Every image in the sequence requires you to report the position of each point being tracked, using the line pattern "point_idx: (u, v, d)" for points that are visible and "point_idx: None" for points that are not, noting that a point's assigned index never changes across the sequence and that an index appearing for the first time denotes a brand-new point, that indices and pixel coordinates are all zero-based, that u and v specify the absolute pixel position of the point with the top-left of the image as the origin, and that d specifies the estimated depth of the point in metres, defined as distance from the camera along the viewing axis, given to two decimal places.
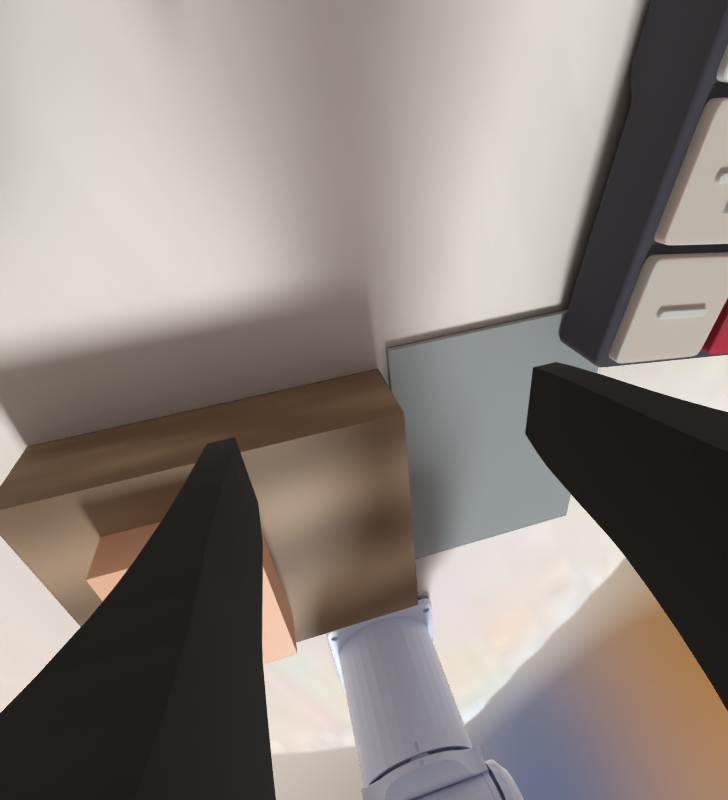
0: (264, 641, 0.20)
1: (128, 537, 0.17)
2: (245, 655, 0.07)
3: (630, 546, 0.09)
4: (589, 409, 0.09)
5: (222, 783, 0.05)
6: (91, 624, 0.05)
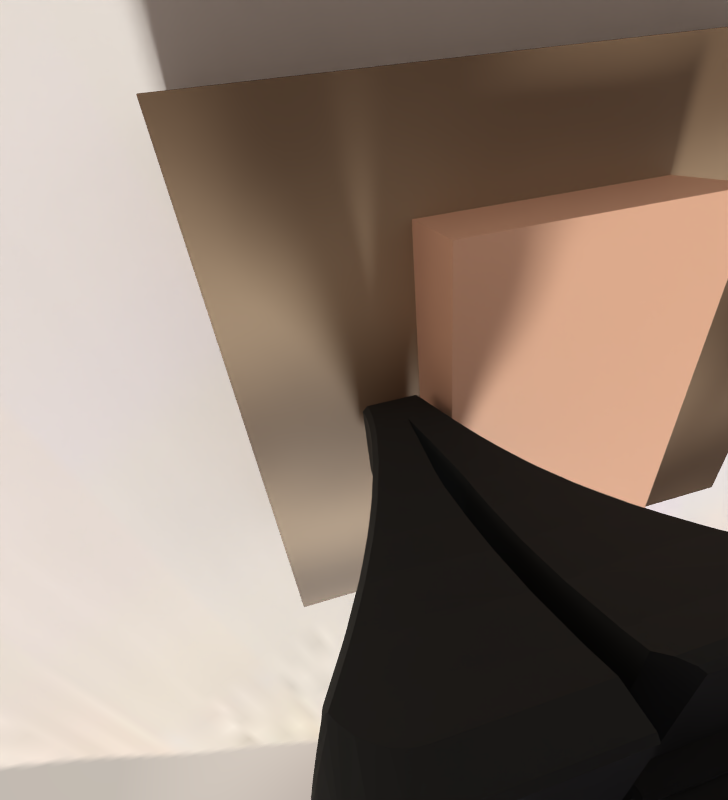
0: (619, 483, 0.12)
1: (475, 212, 0.08)
2: None
3: None
4: (424, 451, 0.08)
5: None
6: (380, 542, 0.06)
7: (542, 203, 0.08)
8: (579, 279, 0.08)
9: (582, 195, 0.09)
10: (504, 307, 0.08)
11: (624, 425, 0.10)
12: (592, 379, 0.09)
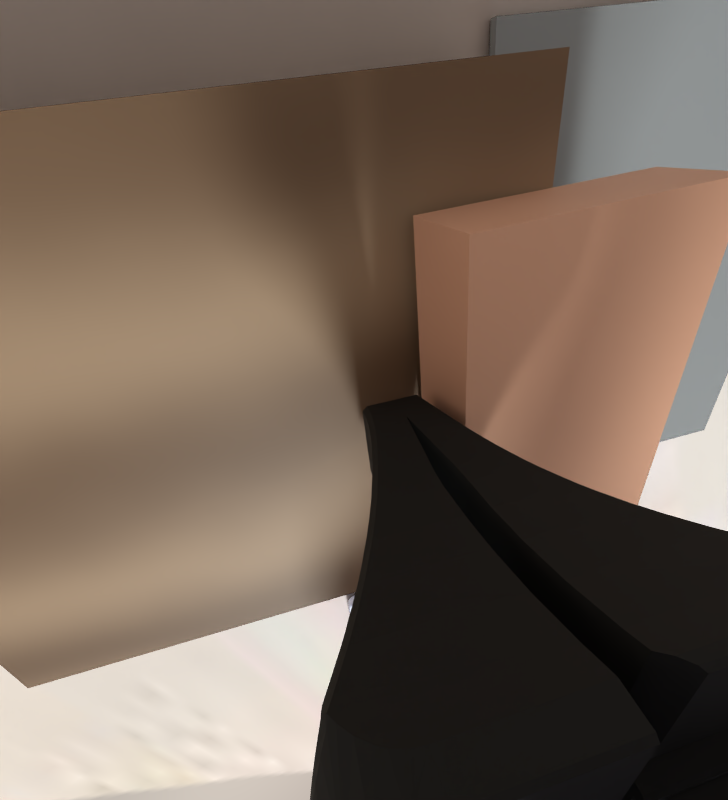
0: (619, 473, 0.12)
1: (478, 207, 0.08)
2: None
3: None
4: (424, 451, 0.08)
5: None
6: (379, 542, 0.06)
7: (543, 196, 0.08)
8: (589, 270, 0.08)
9: (580, 187, 0.09)
10: (517, 303, 0.08)
11: (625, 415, 0.10)
12: (598, 371, 0.09)
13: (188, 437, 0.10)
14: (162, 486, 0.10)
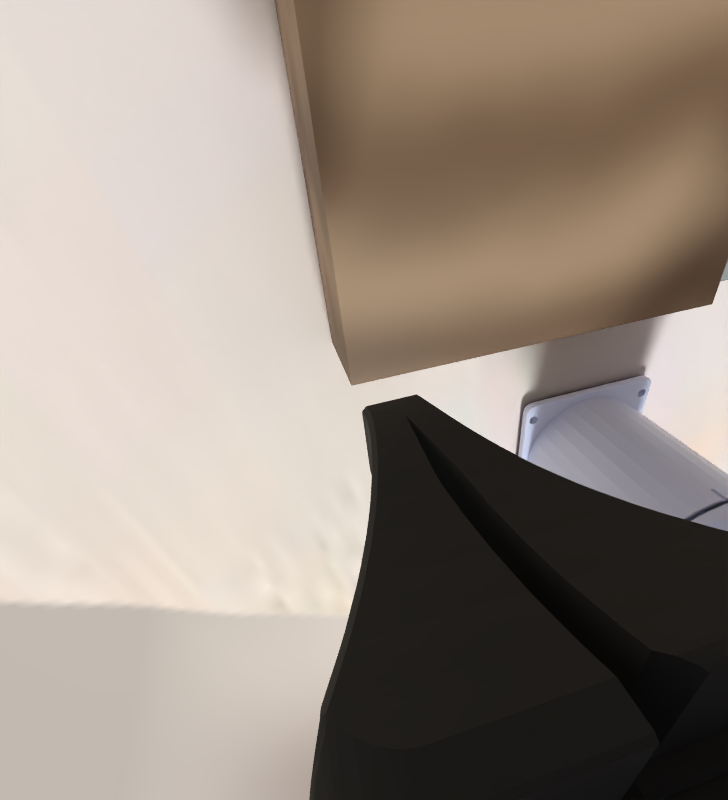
0: None
1: None
2: None
3: None
4: (424, 451, 0.08)
5: None
6: (379, 543, 0.05)
7: None
8: None
9: None
10: None
11: None
12: None
13: (551, 120, 0.13)
14: (517, 171, 0.14)
